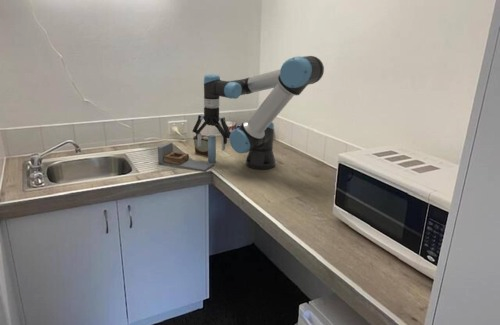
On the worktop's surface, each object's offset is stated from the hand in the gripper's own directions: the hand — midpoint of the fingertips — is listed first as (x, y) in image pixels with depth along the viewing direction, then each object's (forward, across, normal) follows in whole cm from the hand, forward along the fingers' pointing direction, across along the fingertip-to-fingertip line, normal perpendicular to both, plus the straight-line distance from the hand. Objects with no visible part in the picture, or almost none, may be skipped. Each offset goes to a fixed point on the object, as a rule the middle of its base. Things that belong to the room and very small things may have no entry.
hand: (211, 147), depth 193 cm
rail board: (+8, -10, -9) cm, 15 cm away
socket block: (+7, -15, -9) cm, 19 cm away
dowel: (+8, 0, 0) cm, 8 cm away
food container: (+8, -8, +10) cm, 16 cm away
